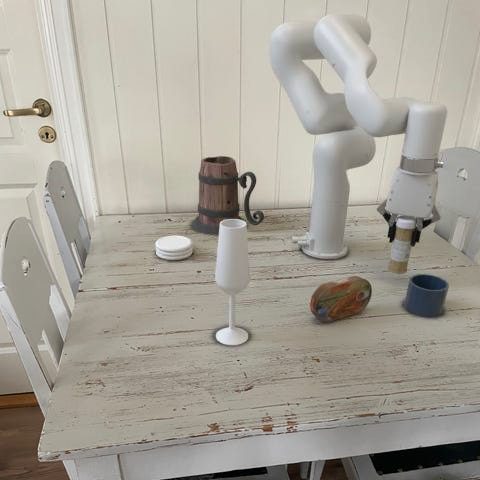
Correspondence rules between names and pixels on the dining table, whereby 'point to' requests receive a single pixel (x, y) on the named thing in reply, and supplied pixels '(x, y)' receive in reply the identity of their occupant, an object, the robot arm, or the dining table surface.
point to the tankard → (222, 194)
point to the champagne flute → (232, 273)
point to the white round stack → (174, 247)
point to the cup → (426, 295)
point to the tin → (340, 298)
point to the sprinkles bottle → (402, 244)
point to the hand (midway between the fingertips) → (402, 241)
